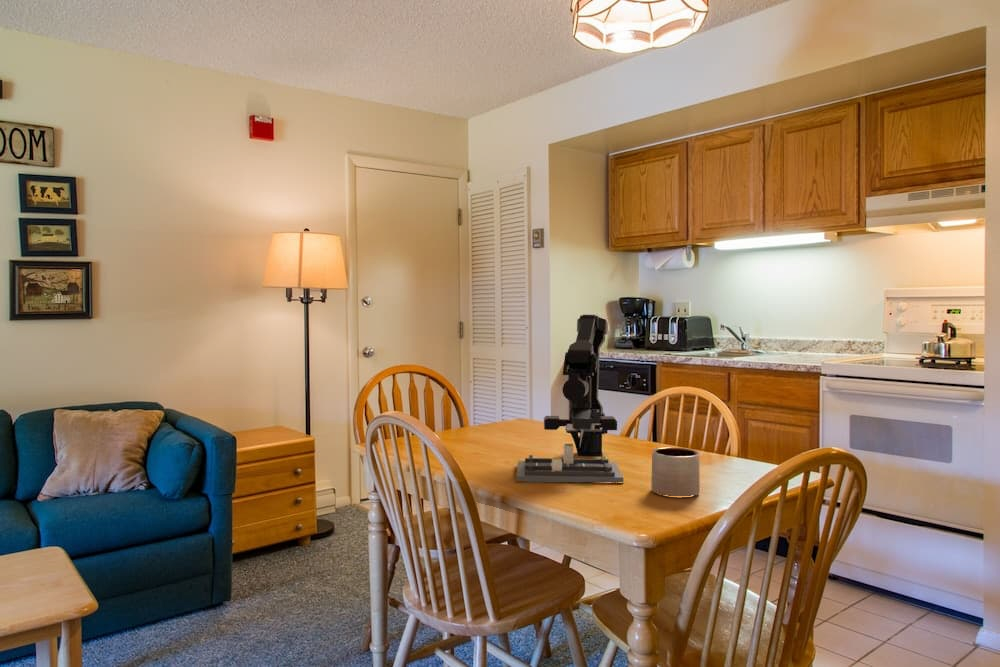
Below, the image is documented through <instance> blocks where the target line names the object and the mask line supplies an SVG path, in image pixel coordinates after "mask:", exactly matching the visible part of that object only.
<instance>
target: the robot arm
mask: <svg viewBox="0 0 1000 667" xmlns="http://www.w3.org/2000/svg"><path fill="white" fill-rule="evenodd" d="M576 320H577V321H576V332H577V336H576V339H575V341H574V342H573V343H571V344H570V345H569V347H568V349H567V351H566V352H565V353H564V354H565V355H564V361H563V367H562V369H563V370H562V376H568V379H567V380H566V381H565V382H564V384H563V386H562V394H563V397H564V398H565V399H566V400H568V418H563V419H562V418H560V416H559V415H545V416H544V417H543V429H544V430H545V431H558V429H559V428H560V427H565V433H567V434H570V435H571V437H572V440H573V442H574V443H573V444H574V445H575V450H576V453H577V456H578V457H582V456H604V454H603V453H604V452H603V435H606V434H608V432H609V431H617V430H618V420H617V419H616V418H615V417H614V416H613V415H606V414H605V413H604V407H603V405H602V403H601V402H600V399H599V383H600V382H599V377H600V352H601V351H600V350H601V348H602V346H603V345H604V343H605V341H606V335H608V333H609V331H608V330H609V328H608V327H609V324H608V321H607V319H606V318H602V317H599V315H597V314H582V315H580V316H579V317H578V318H577V319H576Z"/></svg>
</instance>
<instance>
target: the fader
mask: <svg viewBox="0 0 1000 667" xmlns="http://www.w3.org/2000/svg"><path fill="white" fill-rule="evenodd" d="M574 449H575V448H574V443H563V449H562V450H563V453H562V454H563V458H562V459H563V463H568V464H573V459H574Z"/></svg>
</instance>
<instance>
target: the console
mask: <svg viewBox="0 0 1000 667" xmlns="http://www.w3.org/2000/svg"><path fill="white" fill-rule="evenodd" d="M516 467H517V468H516V482H517V481H527V482H526V483H543V482H612V483H613V482H615V483H616V482H617V483H618V482H623V483H624V476H623V474H622V472H621V471H620V468H619V466H618V465H617V463H616V462H615V461H613V462H612V461H609V459H608V458H606V456H605V455H600V458H573V464H568V463H563V458H561V457H559V458H556V457H555V458H554V457H547V458H545V457H544V458H543V457H542V458H541V457H536V458H535V457H534V455H533V454H532V455H531V454H529V455H528V457H525V458H524V460H517V466H516ZM612 483H611V484H612Z"/></svg>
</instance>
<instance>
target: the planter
mask: <svg viewBox="0 0 1000 667" xmlns="http://www.w3.org/2000/svg"><path fill="white" fill-rule="evenodd" d="M700 458H701V454H700V452H699V451H697V450H694V449H692V448H686V447H680V446H679V447H678V446H677V447H676V446H667V447H666V446H665V447H656V448H654V449H652V451H651V477H650V478H651V481H650V482H651V484H650V485H651V488H650V489H651V491H652V492H653V491H654V492H653V493H655V494H656V493H658V494H661V495H668V496H691V495H696V494H697V495H699V494H700V489H701V488H700V487H701V485H700V484H701V483H700V479H701V477H700V476H701V475H700V472H701V470H700V469H701V468H700V466H701V465H700V464H701V463H700V460H701V459H700ZM698 493H699V494H698ZM658 494H657V495H658ZM697 495H696V496H697Z"/></svg>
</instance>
